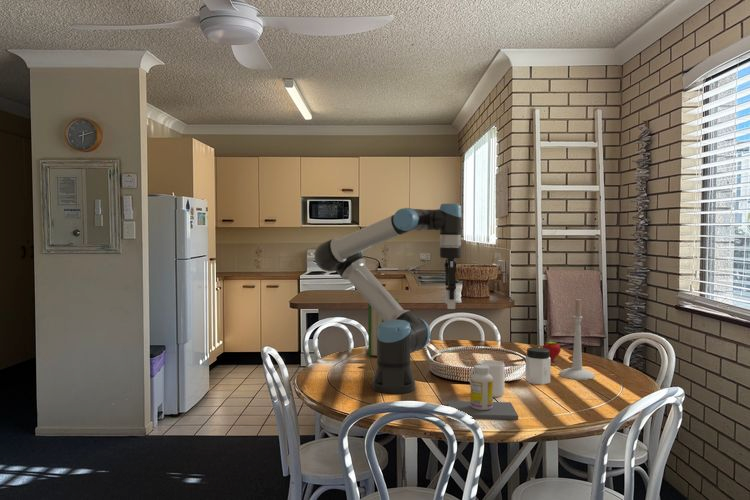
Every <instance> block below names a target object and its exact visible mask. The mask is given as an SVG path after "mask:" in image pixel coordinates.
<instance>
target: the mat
mask: <svg viewBox="0 0 750 500" xmlns="http://www.w3.org/2000/svg"><path fill="white" fill-rule="evenodd" d="M448 406H451V407H454V408H456V409H458V410H460V411H463V412H465V413H467V414H468V415H470V416H472V417H473V418H474V420H477V419H480V420H481V419H482V420H515V421H516V420H517V421H518V420H519V415H518V412H517V411H516V409H515V408H514V406H513V404H512V402H511V401H509V402H508V401H507V402H506V401H493V406H492V408H491V409H489V410H476V409H474V408H472V407H471V400H470V401H469V400H467V401H465V400H463V401H462V400H447V407H448ZM473 418H472V419H473Z"/></svg>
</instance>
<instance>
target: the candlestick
mask: <svg viewBox="0 0 750 500" xmlns="http://www.w3.org/2000/svg"><path fill="white" fill-rule="evenodd" d="M574 307H575V311H574V312H575V313H574V314H575V315H573V316H572V317H573V318H574V320H573V321H574V322H575V325H574V337H573V339H574V340H573V349H572V350H573V351H572V352H573V353H572V364H571V367H568V368H565V369H562V370H560V371H559V376H560V377H561V378H564V377H565V379H568V380H569V379H570V380H574V379H575V381H576V380H577V381H589V380H588V379H591V380H593V378H594V379H595V377H596V376H595V374H594V373H593V372H592V371H590V370H588V369H585V368H583V360H582V358H583V357H582V334H581V333H582V331H581V328H582V327H581V322H582V319H583V317H584V316H582V313H581V312H582V299H580V298H577V299H575V306H574Z"/></svg>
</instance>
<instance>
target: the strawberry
mask: <svg viewBox="0 0 750 500" xmlns="http://www.w3.org/2000/svg"><path fill="white" fill-rule="evenodd" d="M544 343H545V344H544V345H542V348H546V349H549V350H550V358H551V362H552V361H553V362H554V360H555V359H556V358H557V357H558V356H559V354H560V353H561V350H562V348H561V345H559V344H558V342H556V341H555V342H554V341H551V340H549V341H544Z"/></svg>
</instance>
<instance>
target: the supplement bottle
mask: <svg viewBox="0 0 750 500" xmlns="http://www.w3.org/2000/svg"><path fill="white" fill-rule="evenodd" d="M473 368H474V372H473V373H471V375H470V380H471V384H470V401H471V407H472V408H474V409H476V410H489V409H491V408H492V406H493V402H494V401H493V400H494V397H493V378H492V376H491V375H490V374H489V371H490V367H489V366H487V365H479V364H475V365H474V366H473Z"/></svg>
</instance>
